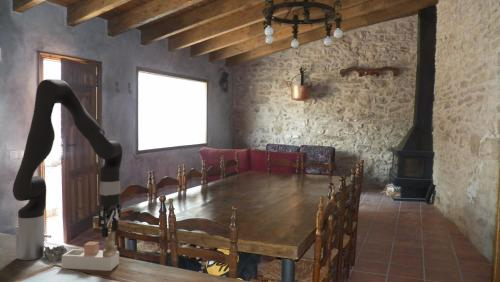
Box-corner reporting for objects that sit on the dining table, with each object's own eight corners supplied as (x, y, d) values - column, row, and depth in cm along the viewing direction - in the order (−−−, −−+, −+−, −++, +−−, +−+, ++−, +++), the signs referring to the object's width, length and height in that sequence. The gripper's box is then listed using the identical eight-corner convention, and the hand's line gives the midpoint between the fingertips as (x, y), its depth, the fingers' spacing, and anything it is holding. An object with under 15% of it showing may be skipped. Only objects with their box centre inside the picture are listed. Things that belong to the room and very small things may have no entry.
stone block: (84, 254, 147) (84, 244, 147) (89, 251, 151) (89, 241, 151) (94, 255, 147) (94, 245, 147) (99, 251, 151) (99, 241, 151)
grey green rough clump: (42, 255, 159) (42, 245, 159) (62, 251, 164) (62, 242, 164) (48, 262, 151) (48, 252, 151) (68, 259, 156) (68, 249, 156)
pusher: (102, 256, 146) (102, 234, 145) (109, 251, 152) (109, 230, 151) (110, 257, 145) (110, 235, 145) (117, 251, 151) (117, 230, 151)
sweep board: (61, 268, 146) (61, 255, 146) (72, 261, 154) (72, 248, 154) (110, 270, 145) (110, 257, 145) (119, 263, 152) (119, 251, 152)
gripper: (109, 189, 154) (109, 228, 155) (91, 195, 140) (91, 238, 141) (126, 189, 154) (127, 229, 155) (111, 196, 140) (111, 239, 140)
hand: (110, 233), depth 148 cm, fingers open, 8 cm apart
